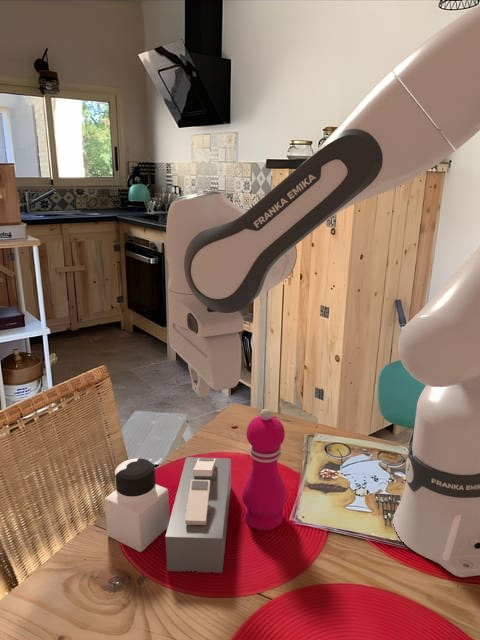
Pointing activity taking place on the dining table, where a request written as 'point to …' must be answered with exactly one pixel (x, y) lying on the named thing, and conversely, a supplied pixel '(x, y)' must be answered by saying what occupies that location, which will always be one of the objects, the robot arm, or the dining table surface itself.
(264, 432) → the pepper mill
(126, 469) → the medicine bottle
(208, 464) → the paddle
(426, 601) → the dining table surface
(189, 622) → the dining table surface
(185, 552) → the breaker panel
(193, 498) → the paddle on
